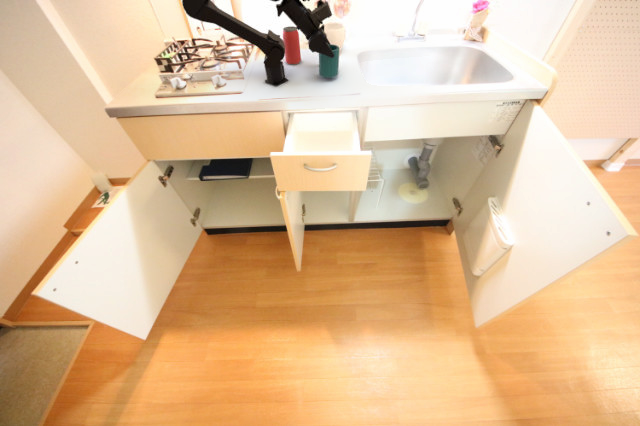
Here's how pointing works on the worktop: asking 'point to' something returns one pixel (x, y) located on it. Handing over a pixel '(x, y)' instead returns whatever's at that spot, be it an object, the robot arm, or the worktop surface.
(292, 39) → the beer can
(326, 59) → the jar
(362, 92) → the worktop surface
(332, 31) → the cup
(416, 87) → the worktop surface
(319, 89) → the worktop surface
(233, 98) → the worktop surface
